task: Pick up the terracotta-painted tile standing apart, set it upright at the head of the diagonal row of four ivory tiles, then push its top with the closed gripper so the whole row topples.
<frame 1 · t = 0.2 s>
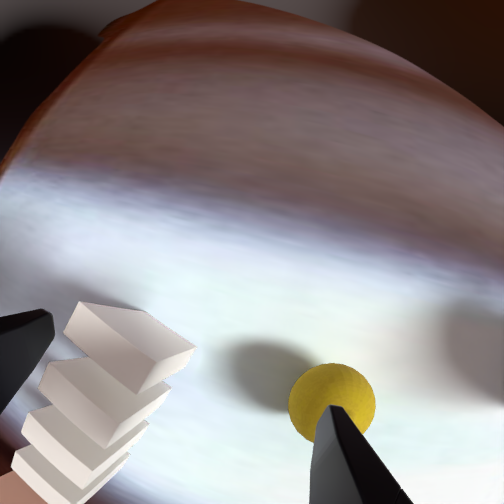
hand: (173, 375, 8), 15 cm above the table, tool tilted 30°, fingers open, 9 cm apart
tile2: (103, 444, 20), on the table
lemon: (318, 391, 21), on the table
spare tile: (45, 482, 18), on the table
tile3: (120, 414, 21), on the table
tile4: (140, 379, 22), on the table
tile end: (164, 339, 22), on the table
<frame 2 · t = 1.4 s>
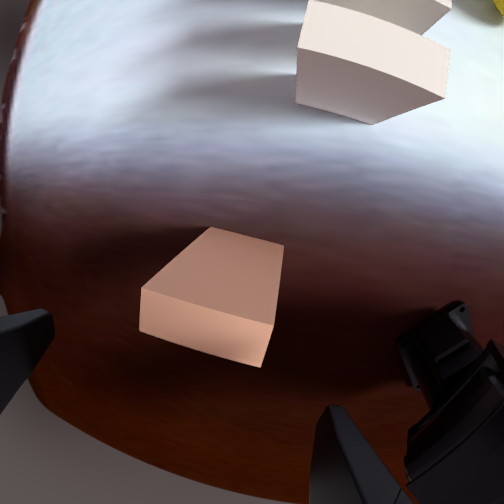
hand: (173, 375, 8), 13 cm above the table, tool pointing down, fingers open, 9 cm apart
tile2: (337, 98, 17), on the table
lemon: (499, 11, 11), on the table
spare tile: (243, 250, 20), on the table
tile3: (349, 45, 15), on the table
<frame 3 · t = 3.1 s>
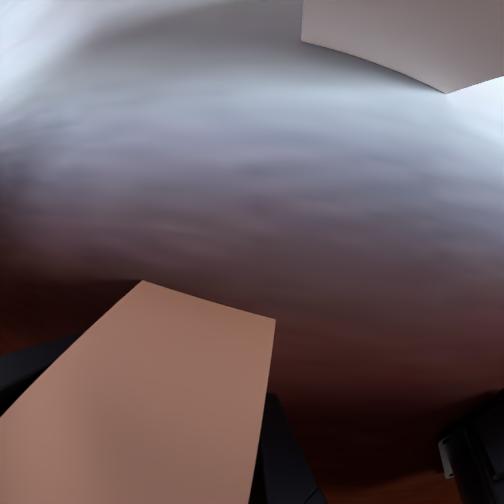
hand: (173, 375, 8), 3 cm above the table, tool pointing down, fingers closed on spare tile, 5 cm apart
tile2: (383, 39, 7), on the table
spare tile: (202, 323, 11), on the table, touching gripper
when the fingers open (4 cm above the table, at t = 6.8 s): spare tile stays where it is, on the table.
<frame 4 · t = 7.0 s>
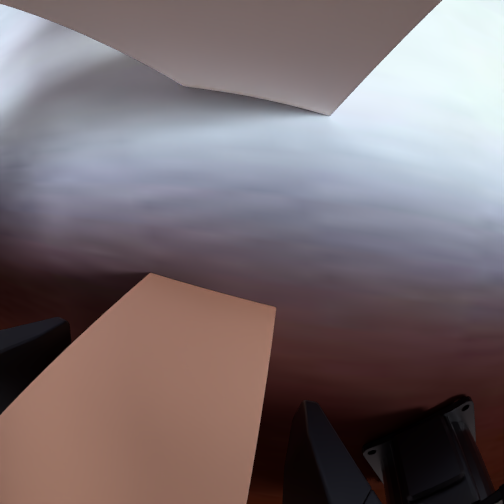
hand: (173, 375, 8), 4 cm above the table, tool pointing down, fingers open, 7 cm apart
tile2: (261, 70, 9), on the table
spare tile: (206, 312, 12), on the table
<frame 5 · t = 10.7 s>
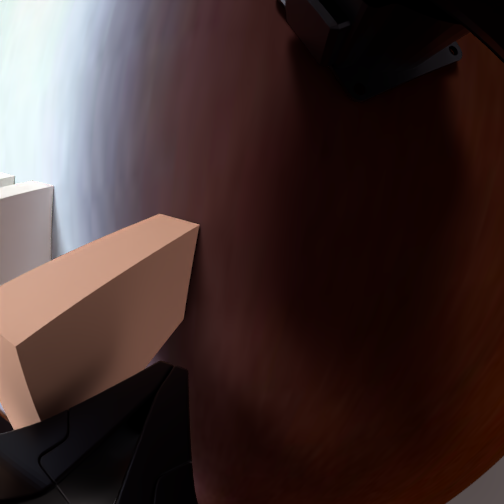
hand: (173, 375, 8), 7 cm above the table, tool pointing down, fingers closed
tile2: (40, 224, 15), on the table
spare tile: (171, 269, 14), on the table, touching gripper
tile3: (5, 211, 15), on the table
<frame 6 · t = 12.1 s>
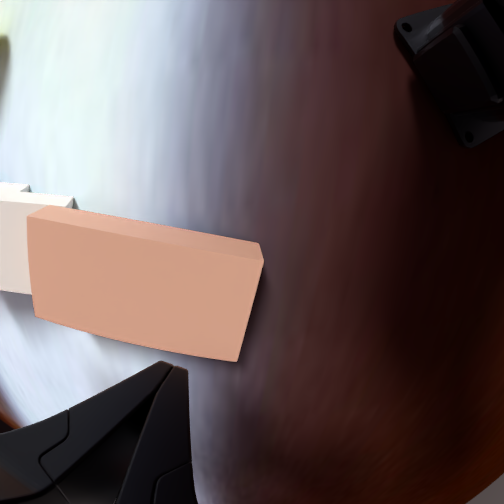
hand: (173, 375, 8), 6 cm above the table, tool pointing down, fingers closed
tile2: (67, 247, 14), point 1 cm above the table, tilted 61°, touching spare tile
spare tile: (247, 304, 13), point 1 cm above the table, tilted 78°, touching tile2
tile3: (22, 229, 14), point 1 cm above the table, tilted 61°, touching tile4
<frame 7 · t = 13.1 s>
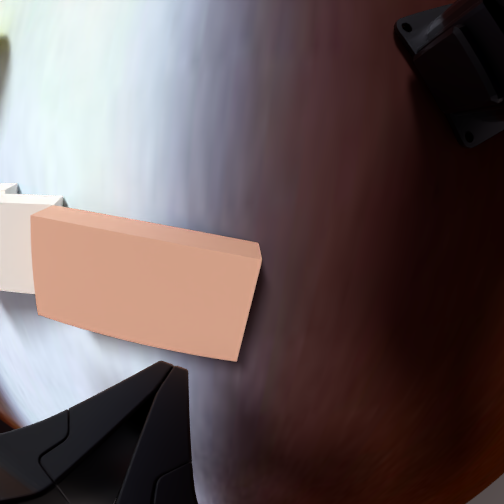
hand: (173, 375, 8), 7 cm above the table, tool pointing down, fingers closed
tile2: (58, 246, 14), point 1 cm above the table, tilted 62°, touching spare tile, tile3
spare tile: (247, 303, 13), point 1 cm above the table, tilted 79°, touching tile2
tile3: (12, 226, 14), point 1 cm above the table, tilted 62°, touching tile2
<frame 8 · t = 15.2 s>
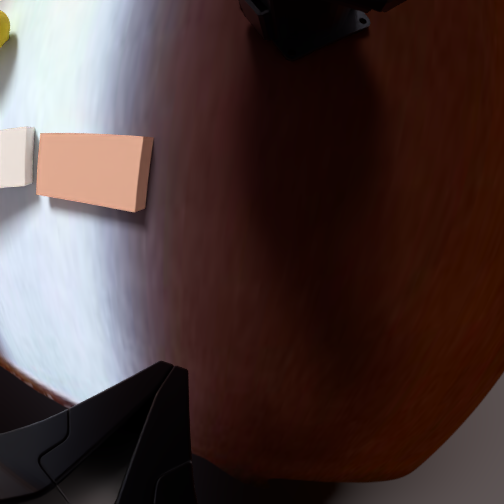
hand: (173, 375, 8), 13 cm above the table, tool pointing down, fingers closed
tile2: (29, 155, 19), point 1 cm above the table, tilted 64°
lemon: (9, 38, 17), on the table
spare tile: (145, 173, 19), on the table, tilted 90°
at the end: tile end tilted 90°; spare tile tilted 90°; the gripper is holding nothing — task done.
